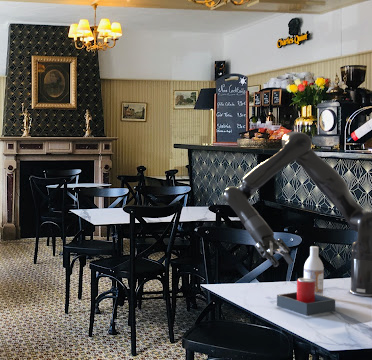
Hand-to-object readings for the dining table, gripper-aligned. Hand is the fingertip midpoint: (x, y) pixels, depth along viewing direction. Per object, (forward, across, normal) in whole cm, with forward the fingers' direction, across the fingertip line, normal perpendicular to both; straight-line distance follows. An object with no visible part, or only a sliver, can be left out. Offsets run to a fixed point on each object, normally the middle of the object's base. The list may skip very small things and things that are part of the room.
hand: (284, 264), depth 219 cm
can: (+16, 0, +4) cm, 17 cm away
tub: (+17, 0, +5) cm, 18 cm away
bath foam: (+11, +19, +11) cm, 24 cm away
